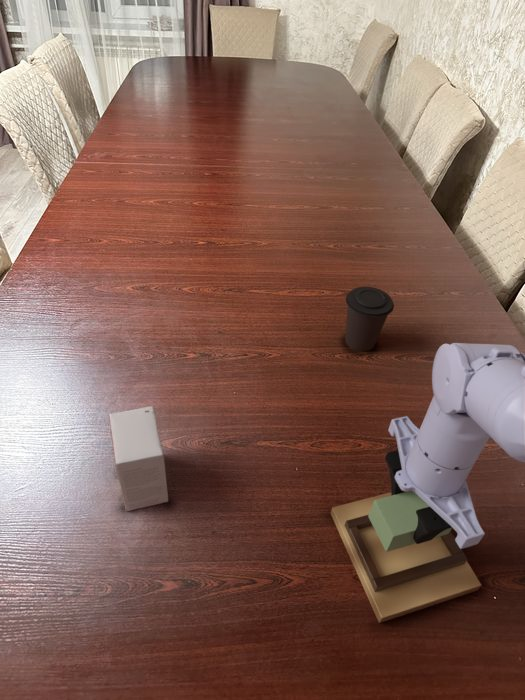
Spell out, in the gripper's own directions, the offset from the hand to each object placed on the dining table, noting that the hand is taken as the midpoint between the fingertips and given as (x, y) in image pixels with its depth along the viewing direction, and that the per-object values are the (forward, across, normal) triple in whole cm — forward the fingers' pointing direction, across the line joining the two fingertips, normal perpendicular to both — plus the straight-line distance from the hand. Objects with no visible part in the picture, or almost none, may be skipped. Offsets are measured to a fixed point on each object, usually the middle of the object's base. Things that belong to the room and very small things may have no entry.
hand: (411, 518), depth 59 cm
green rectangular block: (+1, 0, 0) cm, 1 cm away
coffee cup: (+8, -37, +13) cm, 40 cm away
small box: (+8, -18, -28) cm, 34 cm away
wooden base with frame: (+8, 0, +1) cm, 8 cm away
